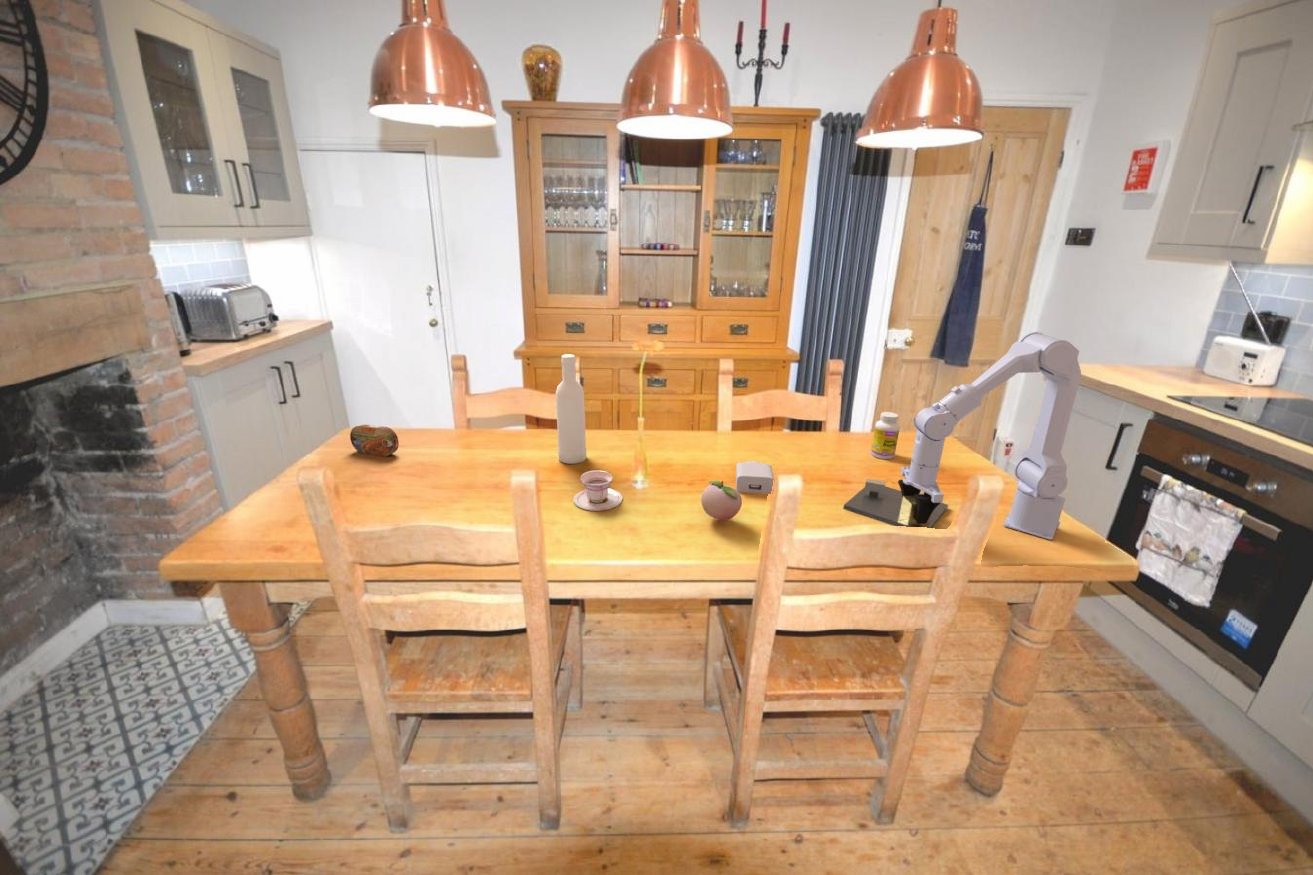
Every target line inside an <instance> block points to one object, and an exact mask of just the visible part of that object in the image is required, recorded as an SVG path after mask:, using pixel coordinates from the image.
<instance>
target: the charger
mask: <svg viewBox="0 0 1313 875" xmlns="http://www.w3.org/2000/svg"><path fill="white" fill-rule="evenodd" d="M735 468H736V469H735V485H736V488H735V489H736V490H737V491H738V492H739V493H749V494H750V493H751V494H752V493H753V494H765V495H766V494H768V495H771V491H772V486H773V480H774V481H775V478H774V474H773V473H774V472H773V469H772V465H770V464H769V463H762V462H759V461H754V460H752V461H751V460H748V461H746V462H743V461H742V462H738V463H736V466H735Z"/></svg>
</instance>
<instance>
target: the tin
mask: <svg viewBox="0 0 1313 875" xmlns="http://www.w3.org/2000/svg"><path fill="white" fill-rule="evenodd" d="M349 438H350V439H349V440H350V442H351V445H352V447H353V448H354V449H355V450H356V451H357V452H359V453H360V454H364V455H365V454H366V455H371V456H379V457H388V456H390V455H392V454H395V452H397V451H398V449H399V444H400V443H399V438H398V435H397V433H396V432H395V431H394V430H393V428H390V427H387V426H380V425H374V424H373V425H372V424H361V425H356V426H354V427H352V429H351V431H350V434H349Z"/></svg>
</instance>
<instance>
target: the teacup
mask: <svg viewBox="0 0 1313 875" xmlns="http://www.w3.org/2000/svg"><path fill="white" fill-rule="evenodd" d="M613 479H614V478H613V474H611V473H610V472H608V471H605V470H596V469H595V470H593V469H592V470H589V471H586V472H583V473H582V475H580V483H581V484H583V487H584V488H585V489H583V490H582V491H581V490H580V491H579V492H578V493H576V494H575V495H574V497H573V499H572V500H573V504H574V505H575V506H576V507H577V508H580V509H581V510H585V511H588V512H589V511H591V512H593V511H594V512H600V511H601V512H603V511H608V510H611V509H615V508H616V507H618V506H619V505H621V503H622V502H623V500H624V498H623V495H622V493H621V492H620V491H618V490H615V489H613V488H609V487H611V486H610V485H611V484H612V482H613V481H614V480H613ZM606 499H607V501H606V502H604V500H606ZM602 502H604V503H602Z"/></svg>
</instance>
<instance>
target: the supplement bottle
mask: <svg viewBox="0 0 1313 875" xmlns="http://www.w3.org/2000/svg"><path fill="white" fill-rule="evenodd" d="M898 419H899V414H897V413H895V412H891V411H883V412H881V413H880V420H878V421H876V422H875V426H874V431H873V437H872V444H871V449H870V454H871V455H872V456H873V457H875V458H877V459H882V460H890V459H893V458H894V457H895V455H896V449H897V445H898V439H899V433H900V427H901V426H900V424H899V423H898V422H897V421H898Z"/></svg>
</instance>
